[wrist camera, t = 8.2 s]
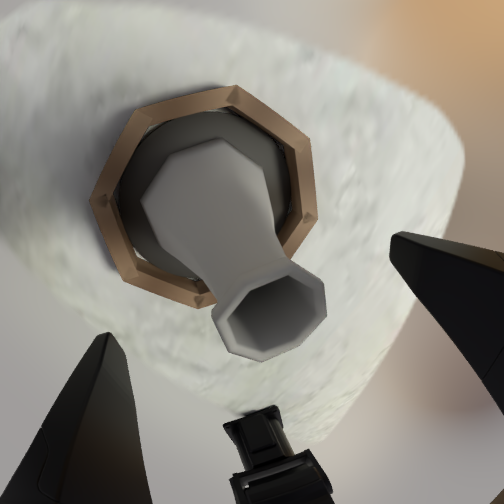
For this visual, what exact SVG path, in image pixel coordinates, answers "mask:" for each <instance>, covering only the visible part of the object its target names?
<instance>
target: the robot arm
mask: <svg viewBox="0 0 504 504" xmlns="http://www.w3.org/2000/svg"><path fill="white" fill-rule="evenodd" d="M389 258H390V261H391V263H392V264H393V266H394V267H395V268H396V270H397V271H398V272H399V274H400V275H401V277H402V278H403V279H404V281H405V282H406V283H407V285H408V286H409V288H410V289H411V290H412V292H413V293H414V294H415V296H416V297H417V298H418V299H419V301H420V302H421V303H422V304H423V305H424V306H425V308H426V309H427V310H428V311H429V312H430V314H431V315H432V316H433V317H434V318H435V320H436V321H437V322H438V323H439V325H440V326H441V327H442V328H443V329H444V331H445V332H446V333H447V335H448V336H449V337H450V339H451V340H452V341H453V342H454V344H455V345H456V346H457V348H458V349H459V350H460V352H461V353H462V354H463V356H464V357H465V358H466V360H467V361H468V363H469V364H470V365H471V367H472V368H473V369H474V371H475V372H476V374H477V375H478V377H479V378H480V379H481V380H482V383H483V384H484V386H485V387H486V389H487V390H488V392H489V393H490V395H491V396H492V398H493V399H494V401H495V402H496V404H497V406H498V407H499V409H500V410H501V412H502V414H503V415H504V253H502V252H497V251H493V250H489V249H485V248H480V247H475V246H471V245H467V244H463V243H458V242H453V241H449V240H444V239H439V238H435V237H430V236H425V235H420V234H415V233H410V232H404V231H401V232H398V233H395V234H393V235H392V237H391V242H390V253H389ZM41 427H42V428H40V429H39V431H38V433H37V435H36V436H35V438H34V440H33V442H32V444H31V445H30V447H29V449H28V451H27V453H26V454H25V456H24V458H23V459H22V461H21V463H20V465H19V466H18V468H17V470H16V471H15V473H14V475H13V476H12V478H11V480H10V481H9V483H8V485H7V487H6V488H5V490H4V492H3V494H2V495H1V497H0V504H153V503H152V499H151V495H150V490H149V486H148V481H147V476H146V471H145V466H144V461H143V456H142V449H141V443H140V436H139V430H138V422H137V414H136V407H135V401H134V395H133V391H132V386H131V381H130V376H129V370H128V365H127V359H126V355H125V353H124V351H123V349H122V348H121V346H120V345H119V343H118V342H117V340H116V339H115V337H114V336H113V334H112V333H110V332H106V333H103V334H99V335H97V336H96V338H95V339H94V341H93V342H92V344H91V345H90V347H89V348H88V350H87V352H86V353H85V354H84V356H83V357H82V359H81V360H80V362H79V363H78V365H77V366H76V368H75V370H74V371H73V373H72V374H71V376H70V378H69V379H68V381H67V383H66V384H65V386H64V388H63V389H62V391H61V392H60V394H59V396H58V397H57V399H56V401H55V402H54V405H53V406H52V408H51V409H50V411H49V413H48V414H47V416H46V418H45V420H44V422H43V423H42V425H41ZM223 428H224V430H225V431H226V433H227V434H228V435H229V437H230V438H231V440H232V441H233V443H234V444H235V445H236V447H237V450H238V452H239V455H240V458H241V461H242V463H243V466H244V469H245V471H244V472H241V473H234V474H233V477H232V478H230V479H229V481H230V484H231V486H232V489H233V493H234V496H235V500H236V504H335V503H334V501H333V499H332V497H331V495H330V494H332V493H333V489H332V486H331V483H330V481H329V479H328V477H327V475H326V474H325V472H324V471H323V469H322V468H321V466H320V465H319V463H318V462H317V460H316V459H315V457H314V456H313V454H312V453H311V451H310V450H309V449H307V450H304V451H303V452H301V453H298V454H296V455H295V454H294V452H293V450H292V448H291V446H290V444H289V442H288V440H287V438H286V435H285V433H284V431H283V423H282V419H281V415H280V411H279V408H278V406H274V407H271V408H268V409H266V410H263V411H260V412H257V413H255V414H252V415H249V416H246V417H243V418H240V419H237V420H234V421H231V422H227V423H225V424H223ZM246 485H249V487H248V488H245V486H246ZM490 504H504V489H503V490H502V491H501V492H500V493H499V495H498V496H497V497H496V498H495V499H494V500H493V501H492V502H491V503H490Z"/></svg>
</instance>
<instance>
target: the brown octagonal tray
mask: <svg viewBox="0 0 504 504" xmlns="http://www.w3.org/2000/svg"><path fill="white" fill-rule="evenodd" d="M221 107H228V108H229V109H231V110H233V111H234V112H236V113H237V114H239V115H240V116H242V117H243V118H245V119H246V120H245V119H243V118H241V117H238V116H235V115H231V114H227V113H220V112H203V111H207V110H212V109H216V108H221ZM175 118H176V119H175ZM172 119H174V120H172ZM168 120H172V121H170V122H168V123H166V124H164V125H162V126H161V127H159V128H158V129H156V130H155V131H154V132H152V133H151V134H150V135H149V136H148V137H147V138H146V139H145V140H144V141H143V142H142V143H141V144H140V146H139V147H138V148H137V146H138V144H139V142H140V140H141V139H142V137H143V135H144V133H145V132H146V130H147V128H148V127H149V126H151V125H154V124H158V123H161V122H165V121H168ZM267 134H268V135H270V136H271V137H272V138H274V139H275V140H277V141H278V142H279V143H281V144H282V145H283V146H284V153H285V159H284V157H283V155H282V153H281V151H280V149H279V148H278V147H277V145H276V144H275V142H274V141H273V140H272V139H271V138H270V137H269V136H268V135H267ZM220 137H223V138H224V139H225V140H227V141H228V142H229V143H231V144H232V145H234V146H235V147H236V148H238V149H239V150H240V151H242V152H243V153H244V154H246V155H247V156H248V157H250V158H251V159H252V160H254V161H255V162H256V163H257V164H259V165H260V166H261V167H262V169H263V173H264V177H265V181H266V186H267V190H268V194H269V198H270V203H271V207H272V211H273V217H274V229H275V234H276V236H277V238H278V240H279V242H280V244H281V246H282V249H283V251H284V253H285V255H286V256H287V257H288V259H291V258H292V256H293V255H294V253H295V252H296V250H297V249H298V248H299V246H300V245H301V243H302V242H303V240H304V239H305V238H306V236H307V235H308V233H309V232H310V230H311V229H312V227H313V226H314V224H315V223H316V222H317V220H318V213H317V201H316V190H315V179H314V170H313V160H312V152H311V143H310V138H308V137H307V136H306V135H305V134H304V133H302V132H301V131H300V130H298V129H297V128H296V127H295V126H293V125H292V124H291V123H289V122H288V121H287V120H286V119H284V118H283V117H282V116H280V115H279V114H278V113H276V112H275V111H273V110H272V109H271V108H269V107H268V106H267V105H265V104H264V103H262V102H261V101H260V100H258V99H257V98H255V97H254V96H252V95H251V94H249V93H248V92H247V91H245V90H244V89H242V88H241V87H239V86H238V85H233V86H228V87H222V88H217V89H212V90H207V91H202V92H198V93H194V94H189V95H185V96H181V97H177V98H173V99H170V100H166V101H162V102H159V103H155V104H152V105H149V106H145V107H142V108H139V109H135V111H134V112H133V114H132V116H131V117H130V119H129V121H128V123H127V124H126V126H125V128H124V130H123V131H122V133H121V135H120V137H119V139H118V141H117V142H116V144H115V146H114V148H113V150H112V152H111V154H110V156H109V158H108V160H107V162H106V164H105V166H104V168H103V170H102V172H101V174H100V177H99V179H98V181H97V183H96V185H95V188H94V190H93V192H92V194H91V197H90V199H89V202H90V205H91V207H92V210H93V213H94V215H95V218H96V220H97V223H98V225H99V228H100V230H101V233H102V235H103V238H104V240H105V242H106V245H107V247H108V249H109V252H110V254H111V256H112V258H113V261H114V263H115V265H116V267H117V269H118V271H119V274H120V276H121V278H122V280H123V281H124V282H127V283H129V284H132V285H134V286H137V287H139V288H142V289H144V290H147V291H149V292H152V293H155V294H157V295H160V296H163V297H165V298H168V299H171V300H173V301H176V302H179V303H182V304H185V305H187V306H190V307H193V308H196V309H200V308H203V307H206V306H209V305H212V304H215V303H218V302H217V299H216V298H215V296H214V295H213V294H212V292H211V291H210V289H209V288H208V287H207V285H206V284H205V282H204V281H203V280H199V281H193V280H191V279H188V278H197V279H199V278H200V277H199V276H197V275H196V274H195V273H194V272H193V271H191V270H190V269H189V268H188V267H187V266H185V265H184V264H183V263H182V262H181V261H179V260H178V259H177V258H175V257H174V256H172V255H171V254H170V253H168V252H167V251H166V250H164V249H163V248H162V247H161V246H159V244H158V242H157V239H156V237H155V235H154V232H153V230H152V228H151V226H150V223H149V221H148V219H147V216H146V214H145V211H144V209H143V207H142V204H141V202H140V199H141V198H142V196H143V194H144V193H145V191H146V190H147V188H148V186H149V185H150V183H151V182H152V180H153V179H154V177H155V176H156V174H157V173H158V171H159V170H160V168H161V167H162V165H163V164H164V162H165V161H166V159H167V158H168V156H169V155H170V154H173V153H176V152H178V151H181V150H184V149H187V148H190V147H193V146H196V145H199V144H202V143H205V142H208V141H211V140H214V139H217V138H220ZM136 148H137V149H136ZM135 149H136V151H135ZM134 151H135V152H134ZM133 153H134V154H133ZM285 160H286V162H285ZM127 164H128V165H127ZM126 166H127V167H126ZM125 168H126V169H125ZM124 170H125V172H124ZM123 172H124V175H123V178H122V182H121V187H120V195H119V201H120V212H119V209H118V206H117V204H116V201H115V198H114V195H113V192H114V190H115V188H116V186H117V184H118V182H119V180H120V178H121V176H122V174H123ZM290 197H291V204H292V210H291V212H290V213H289V215H288V216H287V213H288V209H289V204H290ZM120 213H121V215H120ZM286 216H287V218H286ZM131 242H132V243H131ZM132 244H133V245H134V247H135V248H136V249H137V250H138V252H139V253H140V254H141V255H142V256H143V257H144V258H145V259H147V260H148V261H149V262H150V263H149V262H147V261H145V260H142V259H140V258H138V257H137V256H136V253H135V251H134V248H133V246H132Z"/></svg>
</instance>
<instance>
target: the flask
mask: <svg viewBox="0 0 504 504" xmlns="http://www.w3.org/2000/svg"><path fill="white" fill-rule="evenodd" d="M140 202H141V204H142V207H143V209H144V211H145V214H146V216H147V219H148V221H149V223H150V226H151V228H152V230H153V232H154V235H155V237H156V239H157V242H158V244H159V246H161V247H162V248H163V249H164V250H166V251H167V252H168V253H170V254H171V255H172V256H174V257H175V258H177V259H178V260H179V261H181V262H182V263H183V264H184V265H185V266H187V267H188V268H189V269H190V270H191V271H193V272H194V273H195V274H196V275H197V276H199V277H200V278H201V279H202V280H203V281H204V282H205V284H206V285H207V287H208V288H209V289H210V291H211V292H212V294H213V295H214V296H215V298H216V299H217V302H218V303H217V304H216V305H215V307H214V308H213V309H212V312H211V317H212V319H213V322H214V324H215V326H216V328H217V330H218V332H219V334H220V336H221V338H222V340H223V342H224V344H225V346H226V349H227V351H228V352H229V353H232V354H235V355H239V356H242V357H245V358H248V359H252V360H255V361H259V362H264V361H266V360H268V359H271V358H273V357H275V356H278V355H280V354H282V353H285V352H287V351H289V350H291V349H294V348H296V347H298V346H300V345H301V344H302V343H303V342H304V341H305V340H306V338H307V337H308V336H309V335H310V334H311V333H312V332H313V331H314V330H315V329H316V328H317V327H318V325H319V324H320V323H321V322H322V321H323V320H324V319H325V318H326V317H327V310H326V299H325V289H324V283H323V282H322V281H321V279H319V278H318V277H316V276H315V275H313V274H312V273H310V272H309V271H307V270H305V269H304V268H302V267H301V266H299V265H298V264H296V263H295V262H293V261H291V260H290V259H288V257H287V256H286V255H285V253H284V251H283V249H282V246H281V244H280V242H279V240H278V238H277V236H276V234H275V229H274V217H273V211H272V207H271V203H270V198H269V194H268V190H267V186H266V181H265V177H264V173H263V169H262V167H261V166H260V165H259V164H257V163H256V162H255V161H254V160H252V159H251V158H250V157H248V156H247V155H246V154H244V153H243V152H242V151H240V150H239V149H238V148H236V147H235V146H234V145H232V144H231V143H229V142H228V141H227V140H225V139H224V138H223V137H220V138H217V139H214V140H211V141H208V142H205V143H202V144H199V145H196V146H193V147H190V148H187V149H184V150H181V151H178V152H176V153H173V154H170V155H169V156H168V158H167V159H166V161H165V162H164V164H163V165H162V167H161V168H160V170H159V171H158V173H157V174H156V176H155V177H154V179H153V180H152V182H151V183H150V185H149V186H148V188H147V190H146V191H145V193H144V194H143V196H142V198H141V199H140Z"/></svg>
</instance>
